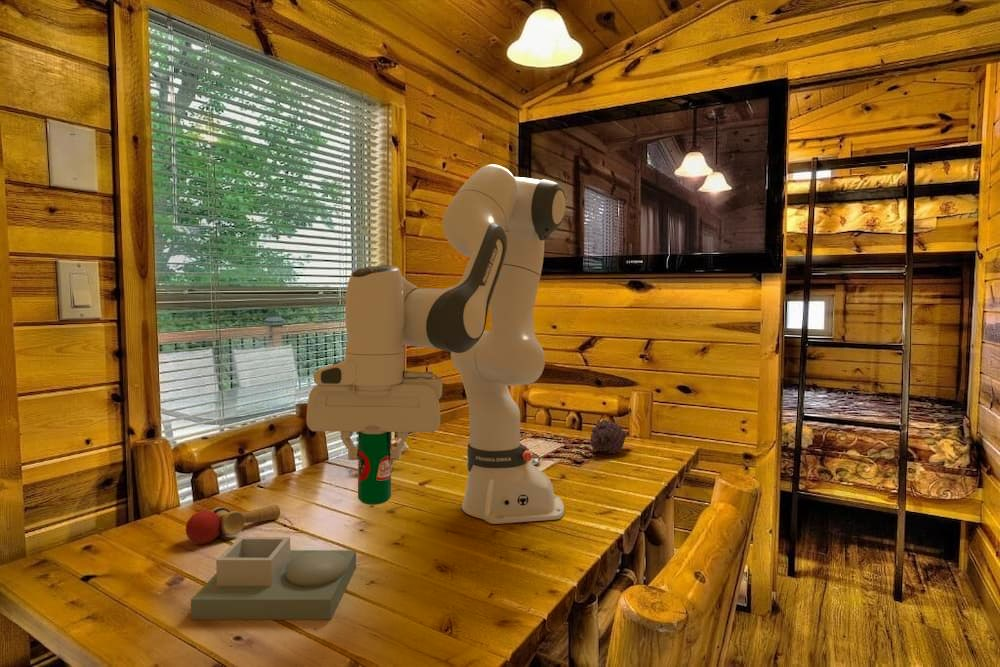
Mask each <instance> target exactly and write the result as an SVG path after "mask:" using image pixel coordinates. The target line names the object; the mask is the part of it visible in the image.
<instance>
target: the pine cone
mask: <svg viewBox="0 0 1000 667" xmlns="http://www.w3.org/2000/svg"><path fill="white" fill-rule="evenodd" d="M629 435H630V431H627V430H623V428H621V426H620V425H618V423H616V422H613V421H612V420H606V419H604V420H602V421H601V422H599V421H598V422H596V424H595V426H594V427H593V428H592V429H591V434H590V438H589V440H590V441H589V444H590V445H591V447H592V448H593V450H594V451H595V450H596V451H599V452H605V453H608V454H616V453H617V452H618V453H620V452H621V451H622V448H623V447H624V444H625V440H626V438H627V437H628V436H629Z"/></svg>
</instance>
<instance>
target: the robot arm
mask: <svg viewBox="0 0 1000 667" xmlns="http://www.w3.org/2000/svg"><path fill="white" fill-rule="evenodd" d="M566 201H567V199H566V195H565V191H564V189H563V187H562V186H561V185H560V184H559V183H557V182H555V181H552V180H550V179H549V180H548V179H545V178H544V179H541V180H540V179H536V178H530V177H520V176H514V175H513V174H512V172H511V171H510V170H509V169H508V168H505V167H503V166H501V165H498V164H486V165H483V166H481V167H480V168H479V169H477V170H476V171H475V172H474V173H473V174H471V175H470V177H469V178H468V179H467V180H466V181H465V182H464V183H463V185H462V186H461V187H460V188H459V189H458V191H457V192H456V193H455V195H454V196H453V197H452V199H451V201H450V202H449V203H448V206H447V207H446V208H445V211H444V214H443V216H442V220H441V222H442V230H443V233H444V236H445V239H446V240H447V241H448V243H449V245H450V246H451V247H453V249H454V250H455V251H457V252H458V253H459V254H460V255H463V257H467V258H469V260H468V262H467V264H466V267H465V269H464V271H463V272H464V273H463V275H462V277H461V279H460V281H459V282H458V283H456V284H455V285H452V286H449V287H446V288H423V287H422V288H420V287H419V286H417V285H415V284H413V283H411V282H410V281H408V280H407V279H406V278H405V276H404V275H402V273H401V269H400V268H399V267H398V266H395V265H391V264H390V265H387V264H386V265H383V264H381V265H374V266H373V265H371V266H365V267H360V268H358V269H355V271H353V272H352V273H351V274H350V276H349V278H348V282H347V287H346V295H345V314H344V316H345V317H344V320H345V327H346V330H347V344H346V346H345V359H344V360H342V361H341V360H339V361H336V362H333V363H332V364H329V365H324V366H323V367H320V368H319V369H317V370H316V371H315V370H314V373H313V382H314V384H316V385H315V386H314V387H313V388H312V389H311V390H310V392H309V394H308V400H307V405H306V406H307V407H306V425H307V427H308V428H309V430H310V431H311V432H340V440H341V441H342V443H343V444H344V446H345V448H346V449H347V450H348V451H347V456H348V457H347V459H348V461H358V445H356V444H354V441H353V440H352V438H351V437H352V436H353V435H354V432H357V433H358V432H362V431H363V430H365V429H366V428H365V427H380V429H381V430H382V431H384V432H391V433H397V434H396V436H397V439H398V440H399V439H401V440H400V442H399V444H398V445H397V447H391V449H390V454H391V456H390V460H393V461H400V460H401V457H402V452H401V447H402V446H403V444H404V442H405V443H406V441H407V438H408V436H409V433H435V432H436V431H437V430H438V429H439V428H440V426H441V408H440V407H441V406H440V399H441V398H442V396H443V388H444V387H443V380H442V379H441V377H440V376H438V375H437V374H435V373H433V371H422V372H421V371H408V370H405V347H404V346H411V347H417V348H427V349H438V350H442V351H447V352H450V359H451V363H452V365H453V367H454V368H455V369H456V370H457V373H459V376H460V378H461V381H462V384H463V387H464V390H465V396H466V398H467V400H466V401H467V405H468V413H469V443H468V445H467V450H466V467H467V471H468V473H467V481H466V488H465V493H464V498H463V500H462V504H461V510H462V511H463V512H464V513H465V514H467V515H469V516H472V517H474V518H478V519H481V520H483V521H485V522H487V523H488V524H492V525H499V524H513V523H524V522H525V523H526V522H527V523H528V522H538V521H539V522H541V521H552V520H553V521H554V520H559V519H561V518H562V517H563V516H564V514H565V505H564V502H563V500H562V498H561V497H559V496H557V494H555V493H554V486H553V484H552V481H551V479H550V478H549V476H548V475H547V474H546V473H544V472H543V471H542V470H541V469H539V468H538V467H537V466H535V465H534V464H532V463H531V461H532V459H533V453H532V452H531V450H530V449H529V448H528V447H527V445H526V444H524V445H523V444H522V443H521V411H520V408H519V405H518V404H517V402H516V401H515V400H514V399H513V397H512V395H511V392H510V389H509V387H508V386H511V387H517V386H524V385H525V386H526V385H531V384H533V383H535V382H537V380H539V379H540V377H541V376H542V374H543V372H544V369H545V365H546V355H545V351H544V348H543V347H542V345H541V343H540V342H539V340H538V339H537V338H538V337H537V336H536V332H535V324H534V323H535V322H534V321H535V320H534V312H535V311H534V310H535V305H536V299H537V294H538V288H539V285H540V280H541V275H542V270H543V264H544V257H545V240H547V239H548V238H549V237H550V236H551V234H552V233H554V232H555V231H556V230H557V229H558V228H559V227H560V226H561V224H562V222H563V220H564V218H565V214H566V206H567V202H566ZM488 311H489V313H490V323H491V324H490V330H485V329H486V325H487V319H488V318H487V317H488Z"/></svg>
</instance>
